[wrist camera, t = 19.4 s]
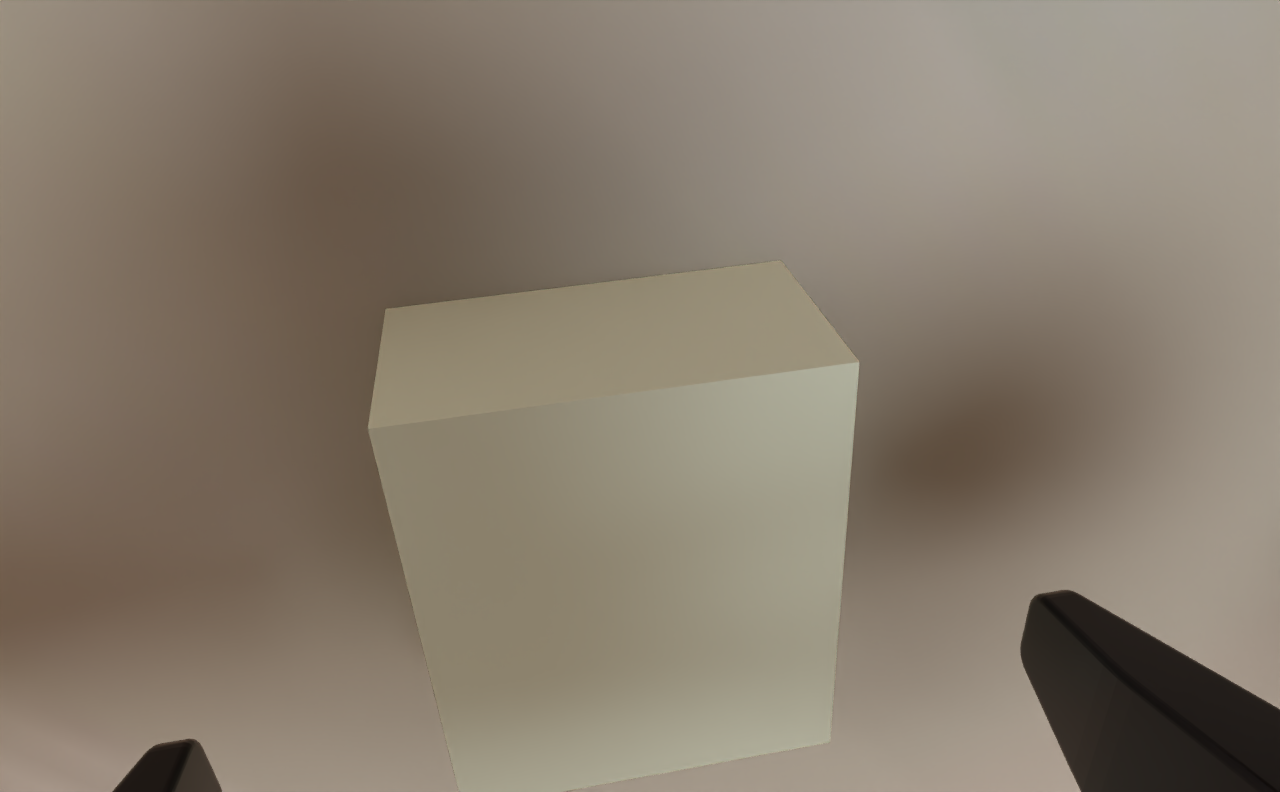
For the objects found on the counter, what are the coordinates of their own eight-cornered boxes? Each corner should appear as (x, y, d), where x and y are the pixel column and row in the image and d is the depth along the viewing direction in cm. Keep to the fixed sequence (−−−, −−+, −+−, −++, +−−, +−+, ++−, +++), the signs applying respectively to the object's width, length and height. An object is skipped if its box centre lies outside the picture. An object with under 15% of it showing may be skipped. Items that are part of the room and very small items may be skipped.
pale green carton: (775, 252, 12) (859, 362, 10) (767, 592, 15) (830, 742, 13) (386, 299, 12) (367, 428, 9) (461, 643, 15) (463, 810, 12)
